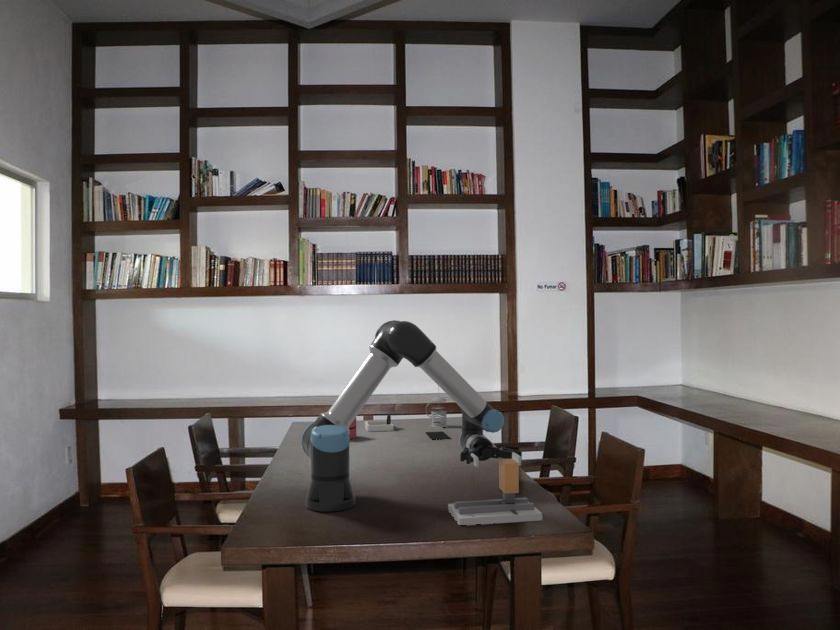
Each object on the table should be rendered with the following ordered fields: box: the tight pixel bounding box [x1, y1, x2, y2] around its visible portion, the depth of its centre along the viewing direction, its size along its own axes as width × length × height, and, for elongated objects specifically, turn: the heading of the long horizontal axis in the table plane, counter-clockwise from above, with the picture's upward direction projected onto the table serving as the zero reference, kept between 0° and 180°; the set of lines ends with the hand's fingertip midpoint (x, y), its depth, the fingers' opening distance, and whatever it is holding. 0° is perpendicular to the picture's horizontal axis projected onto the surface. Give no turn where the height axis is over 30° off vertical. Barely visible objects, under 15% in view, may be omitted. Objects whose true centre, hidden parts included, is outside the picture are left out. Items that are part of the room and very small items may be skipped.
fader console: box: [447, 497, 543, 526], centre depth 187 cm, size 24×14×4 cm, turn 100°
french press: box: [425, 385, 448, 428], centre depth 332 cm, size 10×12×25 cm
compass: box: [386, 413, 392, 425], centre depth 326 cm, size 8×8×7 cm
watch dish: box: [364, 419, 395, 433], centre depth 327 cm, size 13×13×3 cm
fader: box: [498, 458, 520, 504], centre depth 188 cm, size 4×6×13 cm
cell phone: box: [425, 430, 452, 441], centre depth 307 cm, size 9×18×1 cm, turn 10°
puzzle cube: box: [349, 416, 357, 440], centre depth 303 cm, size 10×10×10 cm
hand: (498, 461), depth 198 cm, fingers open, 13 cm apart
